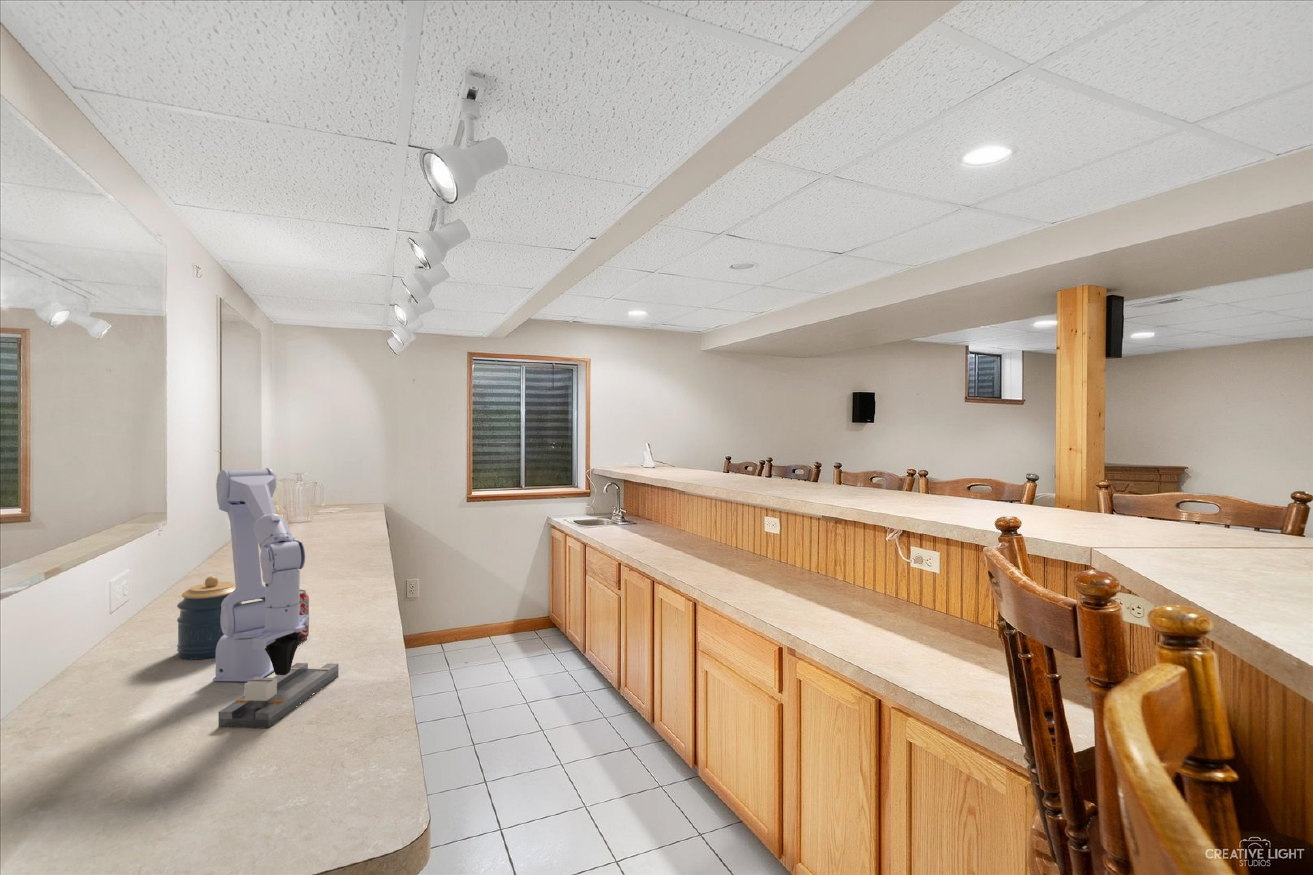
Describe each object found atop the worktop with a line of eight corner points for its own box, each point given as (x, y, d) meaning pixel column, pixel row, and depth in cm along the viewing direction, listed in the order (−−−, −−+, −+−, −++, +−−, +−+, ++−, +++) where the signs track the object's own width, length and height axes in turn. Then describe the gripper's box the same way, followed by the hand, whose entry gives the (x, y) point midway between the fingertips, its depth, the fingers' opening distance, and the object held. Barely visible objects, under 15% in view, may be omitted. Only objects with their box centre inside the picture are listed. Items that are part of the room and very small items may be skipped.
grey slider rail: (218, 727, 109) (218, 710, 109) (296, 675, 132) (296, 661, 132) (268, 727, 109) (268, 711, 109) (338, 676, 132) (338, 662, 132)
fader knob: (244, 709, 112) (244, 683, 112) (255, 701, 115) (255, 676, 115) (266, 709, 112) (266, 683, 112) (276, 702, 115) (276, 677, 115)
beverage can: (295, 644, 151) (295, 595, 151) (273, 643, 152) (273, 594, 152) (314, 636, 157) (314, 589, 157) (293, 634, 158) (293, 588, 158)
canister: (179, 665, 138) (179, 585, 138) (175, 649, 148) (174, 575, 147) (248, 651, 146) (248, 577, 146) (240, 637, 156) (240, 567, 156)
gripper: (279, 615, 113) (279, 689, 113) (323, 594, 127) (323, 659, 127) (241, 614, 113) (241, 688, 113) (289, 593, 127) (289, 659, 128)
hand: (282, 673), depth 120 cm, fingers closed
